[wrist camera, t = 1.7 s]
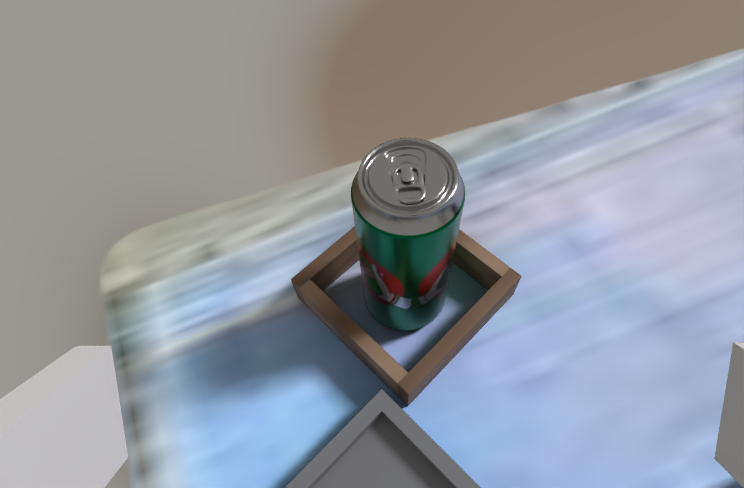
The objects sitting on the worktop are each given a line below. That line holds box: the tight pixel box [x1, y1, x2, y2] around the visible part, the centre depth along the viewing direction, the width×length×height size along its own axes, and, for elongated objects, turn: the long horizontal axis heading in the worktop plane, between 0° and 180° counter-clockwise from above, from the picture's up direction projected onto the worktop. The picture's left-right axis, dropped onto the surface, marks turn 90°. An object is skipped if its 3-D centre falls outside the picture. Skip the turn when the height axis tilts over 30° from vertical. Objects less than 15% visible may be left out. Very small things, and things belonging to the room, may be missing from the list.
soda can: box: [351, 138, 465, 330], centre depth 26 cm, size 5×5×12 cm
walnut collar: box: [291, 226, 521, 405], centre depth 30 cm, size 10×10×2 cm
